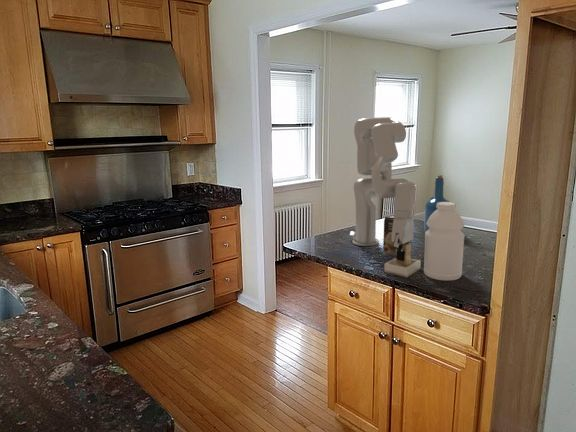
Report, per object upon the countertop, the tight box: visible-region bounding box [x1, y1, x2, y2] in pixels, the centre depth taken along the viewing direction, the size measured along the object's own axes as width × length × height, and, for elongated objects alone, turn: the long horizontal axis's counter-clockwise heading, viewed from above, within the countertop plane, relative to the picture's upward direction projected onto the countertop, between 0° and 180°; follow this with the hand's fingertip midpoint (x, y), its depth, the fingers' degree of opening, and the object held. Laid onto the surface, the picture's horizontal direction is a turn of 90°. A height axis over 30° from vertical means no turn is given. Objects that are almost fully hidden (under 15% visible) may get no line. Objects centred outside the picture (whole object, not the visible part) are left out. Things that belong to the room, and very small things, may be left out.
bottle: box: [423, 201, 465, 282], centre depth 163 cm, size 14×14×28 cm
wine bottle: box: [423, 174, 450, 233], centre depth 220 cm, size 14×13×30 cm
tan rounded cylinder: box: [396, 242, 412, 267], centre depth 170 cm, size 4×4×9 cm
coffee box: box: [382, 216, 400, 257], centre depth 190 cm, size 9×6×16 cm
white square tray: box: [384, 257, 422, 278], centre depth 171 cm, size 10×12×4 cm
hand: (402, 258), depth 170 cm, fingers closed on tan rounded cylinder, 3 cm apart
